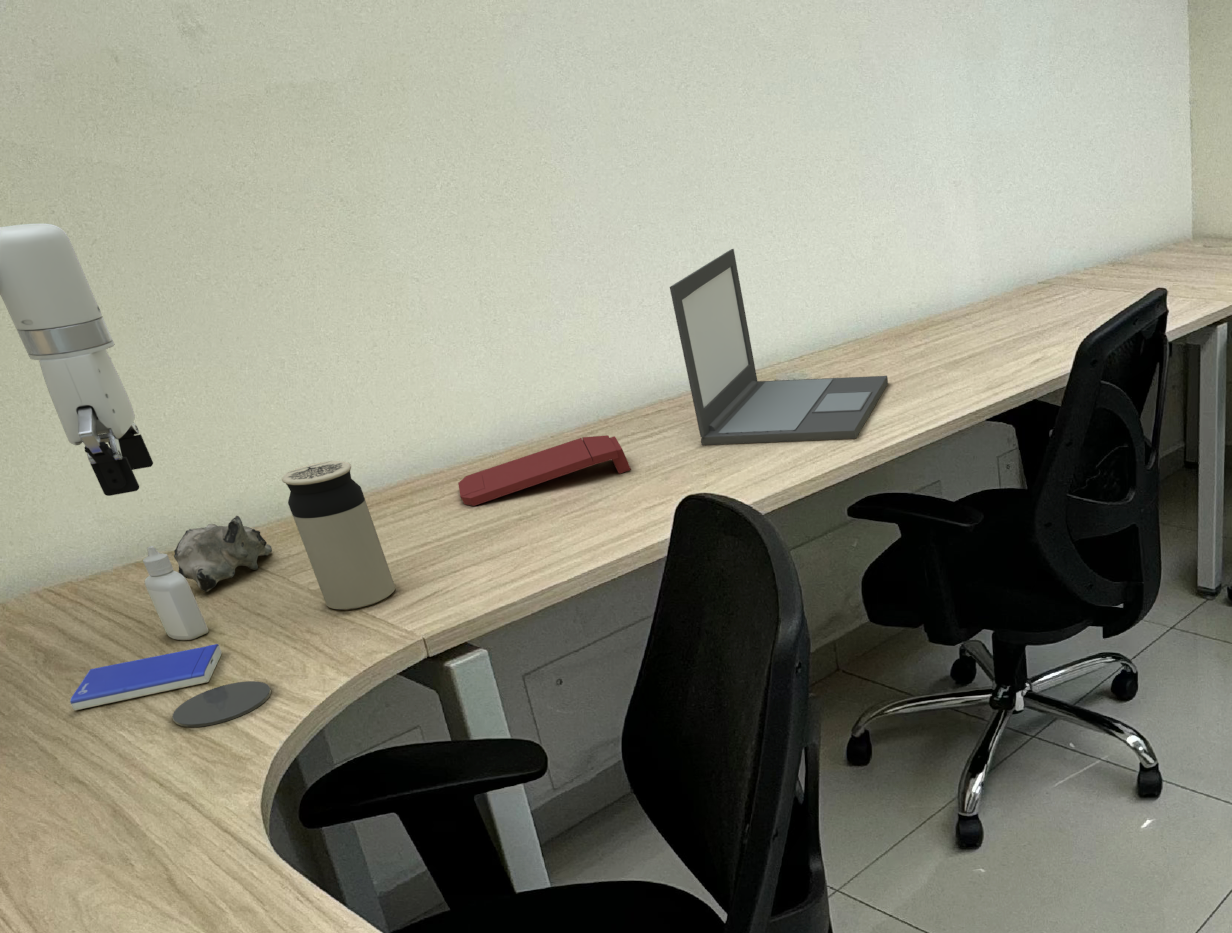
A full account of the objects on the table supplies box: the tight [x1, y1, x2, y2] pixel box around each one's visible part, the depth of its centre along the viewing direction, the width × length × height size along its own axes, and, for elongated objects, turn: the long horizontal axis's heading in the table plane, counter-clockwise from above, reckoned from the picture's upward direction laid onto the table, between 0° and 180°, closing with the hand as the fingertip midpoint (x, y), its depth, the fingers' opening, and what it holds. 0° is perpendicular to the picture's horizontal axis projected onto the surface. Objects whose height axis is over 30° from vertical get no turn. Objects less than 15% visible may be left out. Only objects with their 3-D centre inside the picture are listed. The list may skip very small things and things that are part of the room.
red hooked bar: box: [457, 434, 632, 507], centre depth 190 cm, size 12×5×25 cm
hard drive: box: [69, 643, 223, 711], centre depth 133 cm, size 2×8×12 cm
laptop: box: [669, 248, 889, 446], centre depth 213 cm, size 35×28×28 cm
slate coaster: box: [172, 680, 272, 728], centre depth 128 cm, size 9×9×1 cm
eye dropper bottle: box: [142, 545, 209, 641], centre depth 142 cm, size 4×6×12 cm
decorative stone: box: [173, 515, 273, 593], centre depth 159 cm, size 16×9×10 cm, turn 23°
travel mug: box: [281, 460, 396, 611], centre depth 148 cm, size 8×8×18 cm
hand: (130, 480), depth 136 cm, fingers open, 9 cm apart
